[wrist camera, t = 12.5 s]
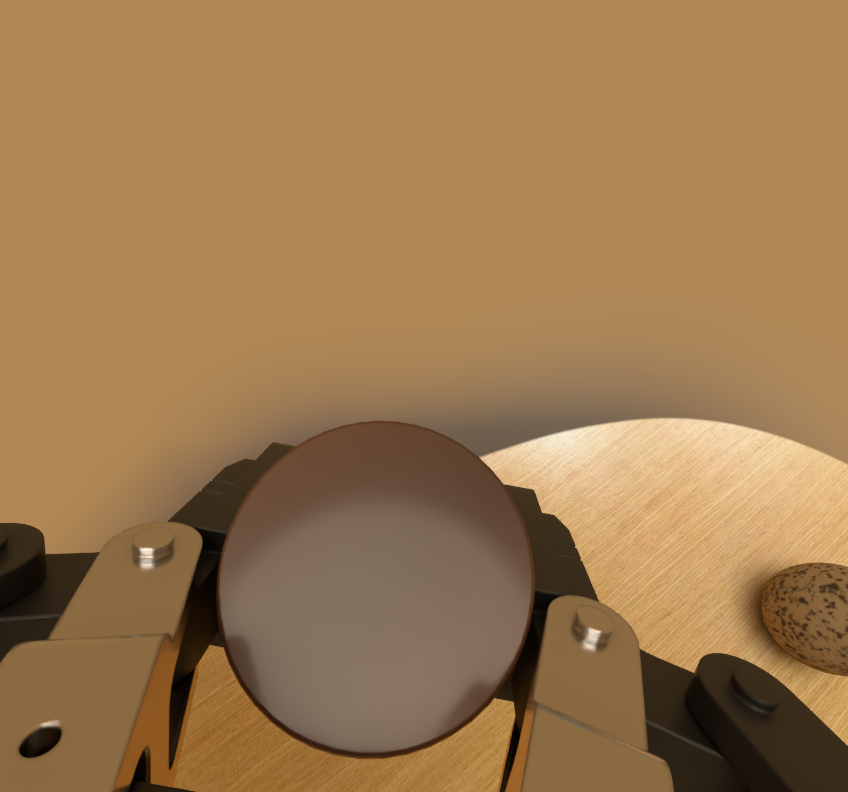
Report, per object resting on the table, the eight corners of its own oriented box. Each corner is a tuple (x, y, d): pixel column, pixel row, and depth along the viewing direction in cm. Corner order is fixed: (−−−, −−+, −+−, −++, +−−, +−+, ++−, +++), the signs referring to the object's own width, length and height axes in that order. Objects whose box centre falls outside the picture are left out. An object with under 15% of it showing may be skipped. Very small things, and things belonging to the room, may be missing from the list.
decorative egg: (721, 579, 38) (822, 559, 29) (798, 564, 39) (919, 542, 30) (764, 681, 35) (893, 694, 26) (847, 662, 36) (998, 669, 27)
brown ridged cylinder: (268, 594, 13) (147, 541, 6) (391, 496, 15) (402, 367, 8) (364, 738, 12) (345, 874, 5) (488, 613, 14) (604, 583, 7)
